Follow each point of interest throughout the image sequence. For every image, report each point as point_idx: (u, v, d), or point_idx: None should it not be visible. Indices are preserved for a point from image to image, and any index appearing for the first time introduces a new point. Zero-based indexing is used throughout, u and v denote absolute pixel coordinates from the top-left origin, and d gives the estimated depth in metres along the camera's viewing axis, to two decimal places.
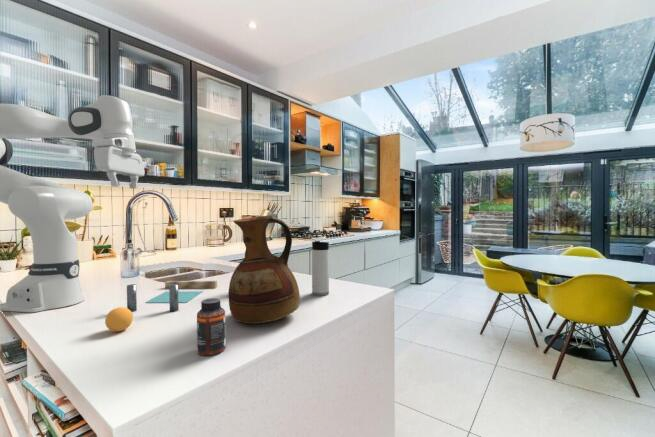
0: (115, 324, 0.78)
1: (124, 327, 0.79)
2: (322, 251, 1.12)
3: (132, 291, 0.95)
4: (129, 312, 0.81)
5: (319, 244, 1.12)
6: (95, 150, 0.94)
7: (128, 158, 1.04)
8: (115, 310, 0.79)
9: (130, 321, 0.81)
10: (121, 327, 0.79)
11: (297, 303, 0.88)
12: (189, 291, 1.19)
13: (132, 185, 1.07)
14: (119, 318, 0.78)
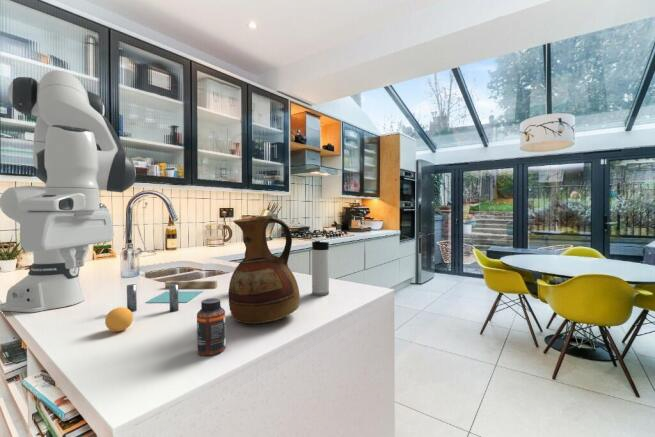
0: (115, 324, 0.78)
1: (124, 327, 0.79)
2: (322, 251, 1.12)
3: (132, 291, 0.95)
4: (129, 312, 0.81)
5: (319, 244, 1.12)
6: (23, 218, 0.56)
7: (85, 221, 0.67)
8: (115, 310, 0.79)
9: (130, 321, 0.81)
10: (121, 327, 0.79)
11: (297, 303, 0.88)
12: (189, 291, 1.19)
13: None
14: (119, 318, 0.78)
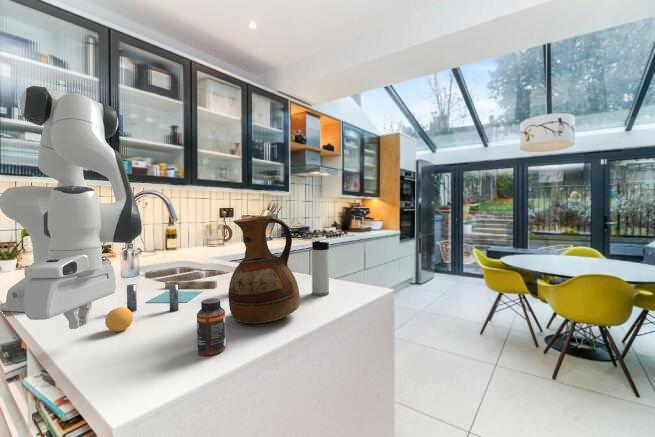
0: (115, 324, 0.78)
1: (124, 327, 0.79)
2: (322, 251, 1.12)
3: (132, 291, 0.95)
4: (129, 312, 0.81)
5: (319, 244, 1.12)
6: (27, 287, 0.57)
7: (89, 279, 0.68)
8: (115, 310, 0.79)
9: (130, 321, 0.81)
10: (121, 327, 0.79)
11: (297, 303, 0.88)
12: (189, 291, 1.19)
13: None
14: (119, 318, 0.78)
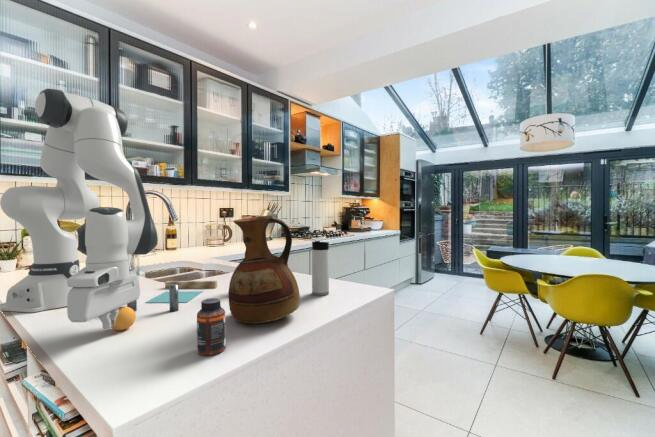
0: (118, 320, 0.79)
1: (126, 325, 0.80)
2: (322, 251, 1.12)
3: None
4: (133, 311, 0.82)
5: (319, 244, 1.12)
6: (70, 294, 0.68)
7: (118, 287, 0.78)
8: (120, 307, 0.81)
9: (132, 321, 0.81)
10: (123, 325, 0.79)
11: (297, 303, 0.88)
12: (189, 291, 1.19)
13: None
14: (123, 315, 0.79)
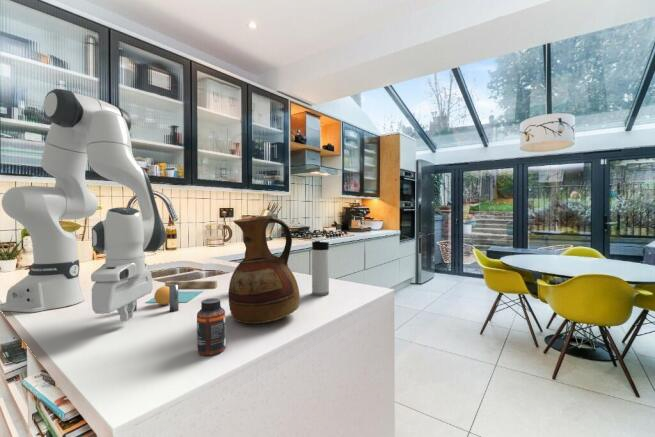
0: (164, 295, 1.00)
1: (169, 300, 1.01)
2: (322, 251, 1.12)
3: None
4: None
5: (319, 244, 1.12)
6: (94, 288, 0.74)
7: (134, 282, 0.85)
8: (164, 286, 1.02)
9: None
10: (167, 299, 1.01)
11: (297, 303, 0.88)
12: (189, 291, 1.19)
13: None
14: (167, 292, 1.01)
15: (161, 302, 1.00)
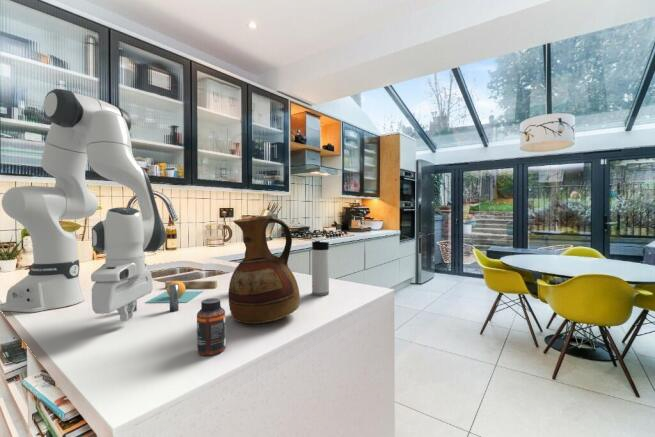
0: None
1: None
2: (322, 251, 1.12)
3: None
4: (182, 294, 1.10)
5: (319, 244, 1.12)
6: (94, 288, 0.74)
7: (134, 282, 0.85)
8: None
9: (183, 287, 1.10)
10: None
11: (297, 303, 0.88)
12: (189, 291, 1.19)
13: None
14: None
15: None
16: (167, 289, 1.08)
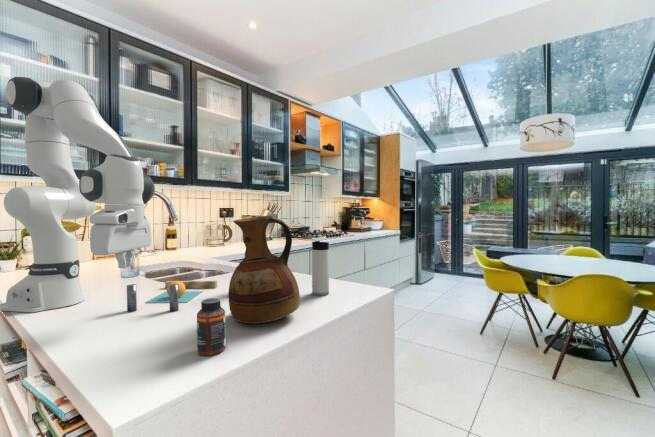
0: None
1: None
2: (322, 251, 1.12)
3: (132, 291, 0.95)
4: (182, 294, 1.10)
5: (319, 244, 1.12)
6: (92, 229, 0.74)
7: (133, 230, 0.84)
8: None
9: (183, 287, 1.10)
10: None
11: (297, 303, 0.88)
12: (189, 291, 1.19)
13: None
14: None
15: None
16: (167, 289, 1.08)
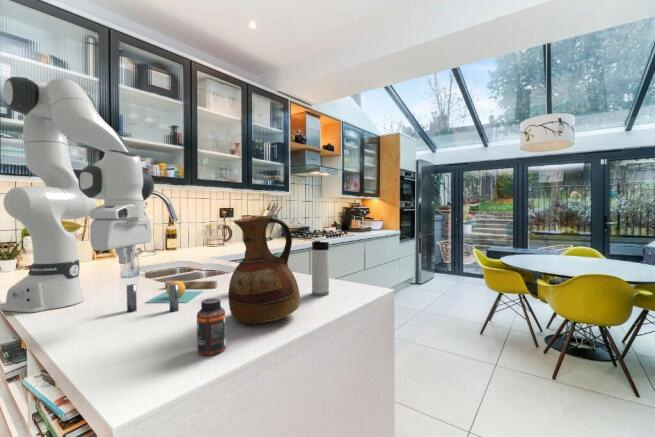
0: None
1: None
2: (322, 251, 1.12)
3: (132, 291, 0.95)
4: (182, 294, 1.10)
5: (319, 244, 1.12)
6: (92, 224, 0.74)
7: (133, 226, 0.84)
8: None
9: (183, 287, 1.10)
10: None
11: (297, 303, 0.88)
12: (189, 291, 1.19)
13: None
14: None
15: None
16: (167, 289, 1.08)
